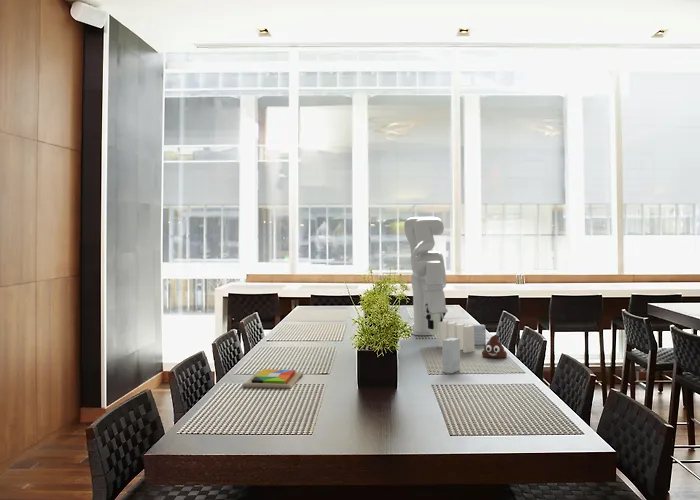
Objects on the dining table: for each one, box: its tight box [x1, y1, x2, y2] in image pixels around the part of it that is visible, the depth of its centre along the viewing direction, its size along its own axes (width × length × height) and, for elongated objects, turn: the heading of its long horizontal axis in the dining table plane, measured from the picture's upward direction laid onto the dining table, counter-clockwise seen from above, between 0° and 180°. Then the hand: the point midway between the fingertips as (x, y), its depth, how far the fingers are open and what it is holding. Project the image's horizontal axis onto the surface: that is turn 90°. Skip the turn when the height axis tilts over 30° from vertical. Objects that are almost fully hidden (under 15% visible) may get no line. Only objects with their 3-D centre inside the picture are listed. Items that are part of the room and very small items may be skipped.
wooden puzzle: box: [241, 368, 304, 389], centre depth 210 cm, size 18×19×4 cm
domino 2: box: [437, 320, 449, 348], centre depth 264 cm, size 2×5×11 cm, turn 124°
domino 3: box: [446, 321, 458, 339], centre depth 260 cm, size 2×5×11 cm, turn 125°
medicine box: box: [466, 324, 487, 346], centre depth 267 cm, size 8×4×9 cm, turn 84°
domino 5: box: [462, 324, 475, 353], centre depth 251 cm, size 2×5×11 cm, turn 125°
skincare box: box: [441, 338, 461, 374], centre depth 218 cm, size 6×4×12 cm
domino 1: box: [429, 313, 441, 336], centre depth 268 cm, size 2×5×11 cm, turn 124°
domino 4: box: [454, 323, 466, 351], centre depth 256 cm, size 2×5×11 cm, turn 124°
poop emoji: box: [481, 334, 508, 360], centre depth 240 cm, size 10×8×9 cm
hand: (435, 327), depth 268 cm, fingers closed on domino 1, 4 cm apart
